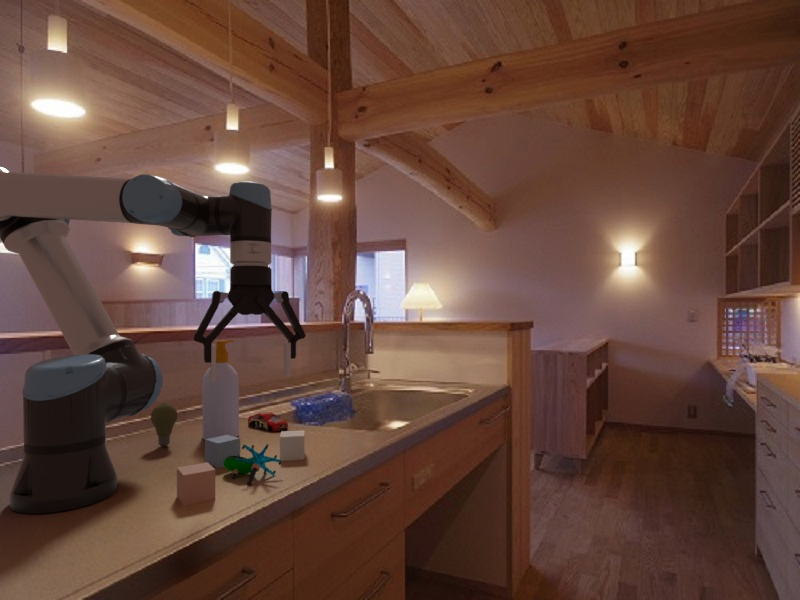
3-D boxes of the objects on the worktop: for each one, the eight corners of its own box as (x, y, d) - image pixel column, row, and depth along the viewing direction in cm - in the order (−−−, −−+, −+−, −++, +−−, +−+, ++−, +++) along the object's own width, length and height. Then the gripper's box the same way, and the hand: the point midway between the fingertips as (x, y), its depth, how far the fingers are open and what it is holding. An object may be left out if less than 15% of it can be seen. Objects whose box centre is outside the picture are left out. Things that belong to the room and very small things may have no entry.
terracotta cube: (183, 506, 83) (183, 475, 83) (176, 497, 87) (176, 467, 87) (215, 499, 86) (215, 469, 86) (207, 491, 90) (207, 462, 90)
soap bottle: (247, 433, 131) (247, 339, 132) (225, 442, 122) (225, 341, 123) (218, 431, 134) (218, 339, 134) (194, 440, 125) (194, 341, 125)
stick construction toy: (290, 462, 99) (268, 435, 95) (279, 493, 93) (255, 466, 89) (239, 474, 102) (216, 448, 99) (225, 505, 97) (201, 479, 93)
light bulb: (177, 448, 117) (177, 404, 118) (149, 451, 115) (149, 406, 115) (177, 442, 123) (177, 400, 123) (151, 445, 120) (151, 402, 121)
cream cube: (279, 461, 107) (279, 437, 107) (281, 454, 112) (281, 431, 112) (304, 459, 108) (304, 435, 108) (304, 453, 113) (304, 430, 113)
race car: (291, 430, 135) (291, 415, 135) (274, 434, 131) (274, 418, 131) (262, 423, 144) (262, 408, 144) (245, 426, 140) (245, 412, 140)
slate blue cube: (217, 468, 103) (217, 443, 103) (204, 463, 106) (204, 439, 106) (240, 462, 106) (240, 438, 106) (227, 458, 110) (227, 434, 110)
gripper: (180, 262, 89) (180, 385, 89) (320, 266, 99) (321, 376, 99) (178, 265, 96) (178, 379, 96) (310, 268, 106) (310, 372, 106)
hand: (251, 378), depth 97 cm, fingers open, 13 cm apart
